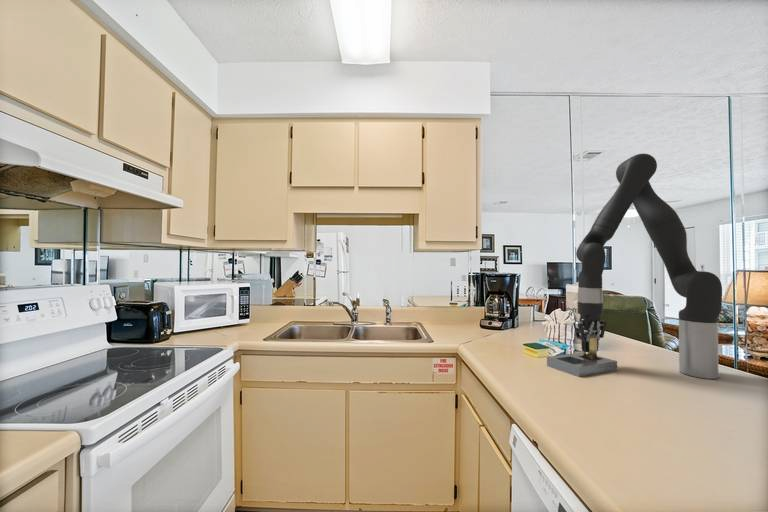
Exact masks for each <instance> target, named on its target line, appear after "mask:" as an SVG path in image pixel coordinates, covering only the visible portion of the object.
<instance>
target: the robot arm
mask: <svg viewBox="0 0 768 512" xmlns="http://www.w3.org/2000/svg"><path fill="white" fill-rule="evenodd" d="M657 168H658V163H657V160H656V158H655V157H654V156H653V155H651V154H648V153H638V154H635V155H632V156H631V157H629V158H627V159H626V160H624V161H623V162H621V163H619V164H618V166H617V168H616V170H615V176H616V179H617V181H618V183H619V185H618V186H617V189H616V190H615V191H614V193H613V195H612V196H611V197H610V198H609V200H608V201H607V202H606V204H605V205H604V206H603V207H602V209H601V210H600V212H599V213H598V215H597V216H596V219H595V220H594V222H593V224H592V226H591V227H590V229H589V232H588V233H587V234H586V235H585V236H584V238H583V239H582V240H581V242H580V244H579V245H578V247H577V249H576V253H575V254H576V258H577V260H578V261H580V262H581V263H582V264H581V270H580V272H579V273H578V282H577V283H578V289H577V314H578V315H579V316H580V317H579V321H574V322H572V324H573V330H574V333H575V337H576V339H578V340H580V341H581V347H580V348H581V352H583V351H584V352H589V338H590V335H591V334H592V333H593V334H597V352H598V351H599V346H600V345H599V344H600V342H599V341H600V340H601V339H603V338H604V337H605V332H606V327H607V321H605V320H601V317H602V316H603V315H604V292H603V273H604V269H605V265H606V256H607V255H606V251H605V248H604V246H605V244H606V243H607V242H608V241H610V240H611V239H612V238H613V237H614V235H615V233H616V232H617V230H618V228H619V226H620V224H621V223H622V221H623V219H624V217H625V216H626V214H627V212H628V210H629V209H630V207H631V205H632V204H633V206H634V208H635V210H636V213H637V215H638V216H639V218H640V220H641V222H642V224H643V226H644V228H645V230H646V232H647V234H648V236H649V239H650V240H651V241H652V243H653V244H654V247H655V249H656V250H657V252H658V255H659V257H660V258H661V260H662V263H663V264H664V267H665V269H666V271H667V274H668V278H669V280H670V283H671V285H672V287H673V289H674V290H675V292H676V293H677V294H678V295H679V296H681V297H683V298H686V303H685V307H684V308H683V309H680V310H679V311H678V366H679V367H678V369H679V373H682V374H684V375H687V376H691V377H694V378H701V379H706V380H707V379H708V380H709V379H710V380H711V379H713V380H714V379H715V380H716V379H719V377H720V376H719V372H720V371H719V322H718V321H719V320H718V319H719V317H720V315H721V312H722V307H723V305H722V303H723V285H722V282H721V279H720V278H719V277H718V276H717V275H716V274H714V273H713V272H710V271H704V270H703V271H702V270H697V269H696V267H695V265H694V264H693V263H692V261H691V259H690V256H689V255H688V248H687V247H688V240H687V239H688V237H687V231H686V228H685V226H684V224H683V222H682V220H681V218H680V217H679V215H678V213H677V211H675V210H674V208H672V206H670V204H668V203H667V202H666V201H665V200H664V199H662V198H661V197H660V196H658V194H657V193H656V191H655V190H654V189H653V187H652V184H651V182H650V180H651V178H652V177H653V176H654V175H655V173H656V171H657ZM585 334H586V337H585Z"/></svg>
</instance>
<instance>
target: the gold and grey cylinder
mask: <svg viewBox="0 0 768 512" xmlns="http://www.w3.org/2000/svg"><path fill="white" fill-rule="evenodd" d="M585 337H586V334H585ZM582 352H583V357H584V358H588V359H597V356H598V351H597V334H593V333H592V334H591V335H590V338H589V352H584V351H582Z"/></svg>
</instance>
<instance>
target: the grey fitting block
mask: <svg viewBox="0 0 768 512" xmlns="http://www.w3.org/2000/svg"><path fill="white" fill-rule="evenodd" d="M546 366H547V367H549V368H553V369H556V370H559V371H561V372H564V373H567V374H570V375H573V376H576V377H585V376H591V375H596V374H602V373H609V372H614V371H615V372H617V371H618V361H617V360H616V359H611V358H606V357H603V356H599V355H597V359H588V358H584V357H583V351H581V352H574V353H573V352H572V353H568V354H559V355H552V356H547V357H546Z"/></svg>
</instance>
